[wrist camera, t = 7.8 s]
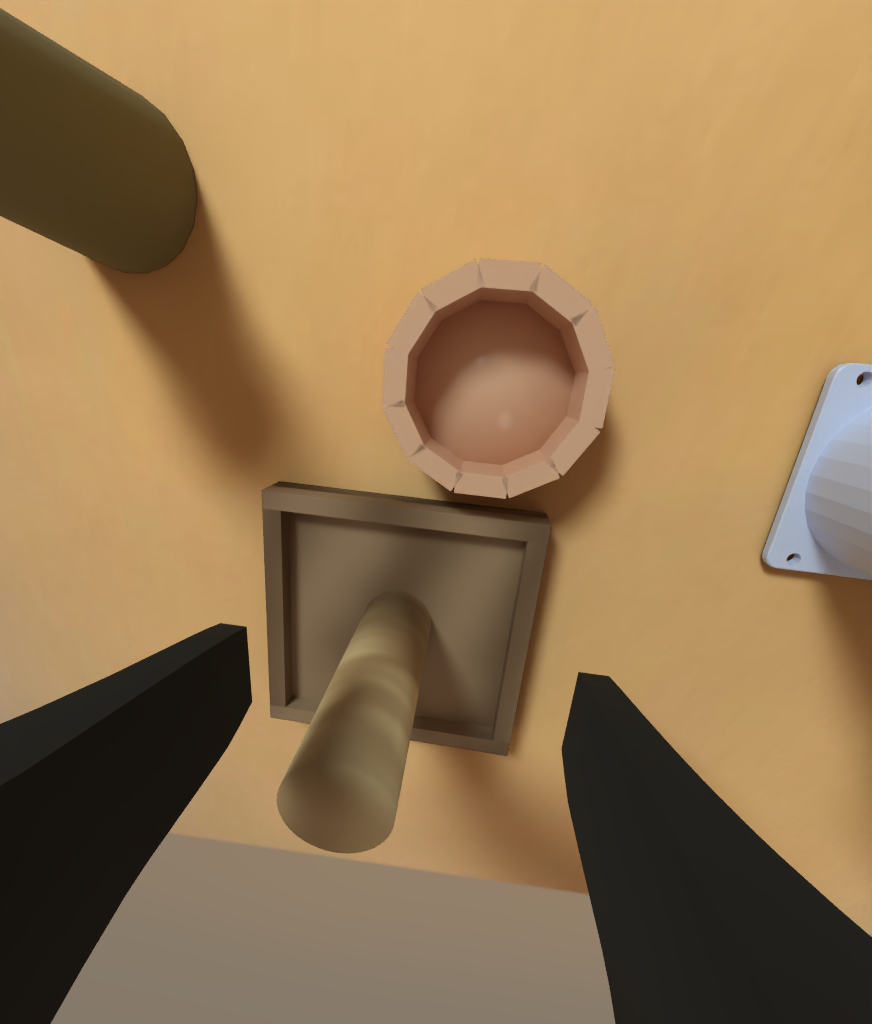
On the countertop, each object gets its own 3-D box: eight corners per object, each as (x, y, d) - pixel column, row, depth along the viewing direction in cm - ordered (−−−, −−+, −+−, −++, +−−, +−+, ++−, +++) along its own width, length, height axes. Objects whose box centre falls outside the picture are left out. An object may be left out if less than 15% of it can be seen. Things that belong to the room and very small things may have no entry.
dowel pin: (435, 597, 19) (400, 776, 10) (427, 656, 20) (389, 862, 11) (366, 586, 19) (277, 753, 11) (361, 645, 20) (276, 841, 12)
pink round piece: (609, 289, 15) (636, 270, 13) (569, 488, 18) (585, 508, 15) (405, 273, 16) (390, 251, 13) (393, 468, 18) (378, 483, 16)
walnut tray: (545, 513, 18) (551, 525, 17) (505, 729, 22) (507, 756, 20) (279, 481, 19) (261, 490, 17) (284, 694, 23) (270, 717, 21)
